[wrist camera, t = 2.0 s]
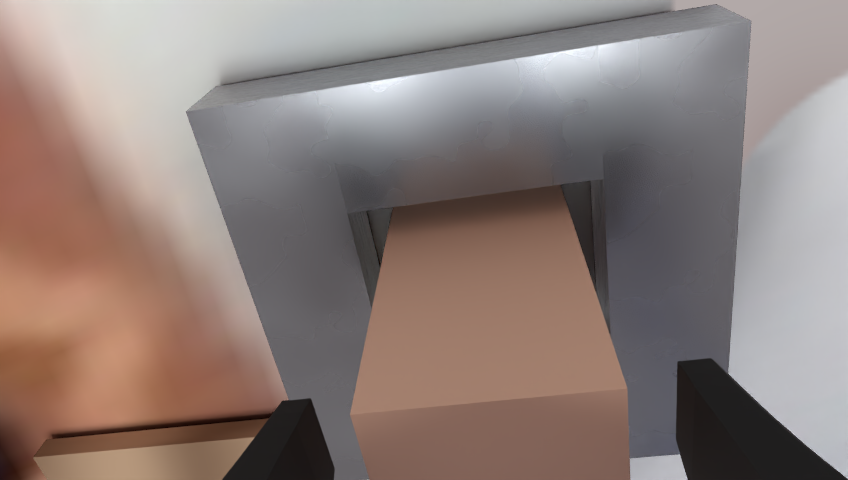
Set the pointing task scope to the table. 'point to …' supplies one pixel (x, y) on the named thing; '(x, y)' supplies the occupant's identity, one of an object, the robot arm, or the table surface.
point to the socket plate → (494, 189)
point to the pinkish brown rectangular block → (489, 349)
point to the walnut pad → (149, 453)
